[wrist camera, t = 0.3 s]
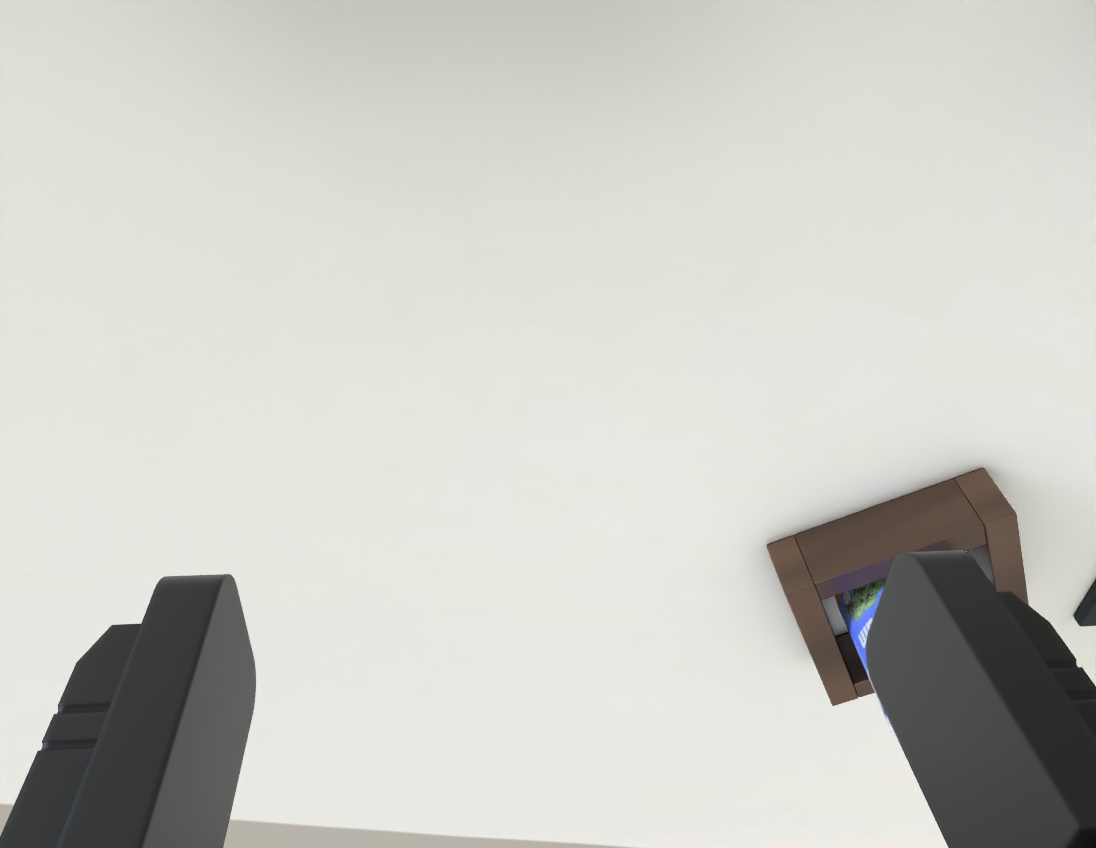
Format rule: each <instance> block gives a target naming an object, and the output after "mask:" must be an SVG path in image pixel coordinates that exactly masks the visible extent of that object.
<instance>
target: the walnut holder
mask: <svg viewBox="0 0 1096 848" xmlns="http://www.w3.org/2000/svg"><path fill="white" fill-rule="evenodd" d="M767 549H768V551H769V554H770V557H771V559H772V562H773V564H774V567H775V570H776V572H777V575H778V577H779V580H780V583H781V585H782V588H783V590H784V593H785V595H786V598H787V600H788V603H789V605H790V607H791V610H792V612H793V614H794V617H795V619H796V621H797V624H798V626H799V628H800V631H801V633H802V635H803V638H804V640H805V642H806V645H807V647H808V650H809V652H810V654H811V657H812V659H813V661H814V664H815V666H816V668H817V671H818V673H819V675H820V678H821V680H822V682H823V685H824V687H825V690H826V692H827V694H828V697H829V699H830V701H831V704H832V705H833V706H835V705H838V704H841V703H844V702H847V701H851V700H854V699H857V698H858V697H862V696H865V695H869V694H872V693H875V691H874V689H873V687H872V685H871V682H870V680H869V677H868V675H867V673H866V670H865V668H864V666H863V663H862V661H861V659H860V656H859V654H858V652H857V649H856V647H855V645H854V642H853V640H852V638H851V635H850V633H848V634H845V635H842V636H839V637H836V638H835V636H834V633H833V631H832V628H831V626H830V623H829V620H828V618H827V615H826V613H825V610H824V607H823V605H822V602H821V600H822V599H825V598H828V597H831V596H834V595H837V594H840V593H843V592H846V591H849V590H852V589H855V588H858V587H861V586H864V585H866V584H869V583H872V582H875V581H878V580H881V579H884V578H887V577H888V575H889V572H890V569H891V566H892V564H893V561H894V560H895V558H896V557H897V556H898V555H899V554H900V553H903V552H928V551H956V550H962V551H967V550H968V552H969V554H970V555H971V556H972V557H973V558H974V559H975V560H976V562H977V563H978V565H979V566H980V568H981V569H982V570H983V572H984V573H985V575H986V576H987V578H988V579H989V581H990V582H991V584H992V585H993V587H994V588H995V590H996V591H997V592H1005V591H1011V592H1012V593H1014V594H1015V595H1016V596H1017V597H1019V598H1020V599H1021V600H1022V601H1024V602H1025V603H1026V604H1027V605H1028V606H1029V604H1028V597H1027V590H1026V582H1025V575H1024V567H1023V560H1022V553H1021V545H1020V538H1019V530H1018V523H1017V516H1016V512H1015V511H1014V510H1013V508H1012V507H1011V505H1010V504H1009V503H1008V501H1007V500H1006V498H1005V497H1004V496H1003V494H1002V493H1001V491H1000V490H999V488H998V487H997V486H996V484H995V483H994V481H993V480H992V479H991V477H990V476H989V474H988V473H987V472H986V470H985V469H984V468H982V469H979V470H977V471H974V472H971V473H968V474H965V475H963V476H960V477H957V478H955V479H951V480H949V481H946V482H943V483H940V484H937V485H935V486H932V487H929V488H926V489H923V490H920V491H918V492H915V493H912V494H909V495H906V496H904V497H901V498H898V499H895V500H892V501H890V502H887V503H884V504H881V505H878V506H876V507H873V508H870V509H867V510H864V511H861V512H859V513H856V514H853V515H850V516H847V517H845V518H842V519H839V520H836V521H833V522H831V523H828V524H825V525H822V526H819V527H817V528H814V529H811V530H808V531H805V532H802V533H800V534H797V535H795V537H794V536H791V537H788V538H786V539H783V540H780V541H777V542H774V543H771V544H769V545H767ZM820 599H821V600H820Z"/></svg>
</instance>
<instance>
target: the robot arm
mask: <svg viewBox="0 0 1096 848" xmlns="http://www.w3.org/2000/svg"><path fill="white" fill-rule="evenodd" d="M866 662H867V668H868V672H869V676H870V679H871V682H872V685H873V687H874V689H875V691H876V694H877V696H878V698H879V700H880V702H881V704H882V706H883V709H884V711H885V713H886V715H887V717H888V719H889V721H890V724H891V726H892V728H893V730H894V732H895V734H896V736H897V739H898V741H899V743H900V745H901V747H902V749H903V751H904V753H905V756H906V758H907V760H908V762H909V764H910V766H911V768H912V771H913V773H914V775H915V777H916V779H917V781H918V783H919V786H920V788H921V790H922V792H923V794H924V796H925V798H926V801H927V803H928V805H929V807H930V809H931V811H932V813H933V815H934V818H935V820H936V822H937V824H938V826H939V828H940V830H941V833H942V835H943V837H944V839H945V841H946V843H947V845H948V848H1096V686H1095V685H1094V683H1093V682H1092V681H1091V679H1090V678H1089V677H1088V675H1087V674H1086V672H1085V671H1084V670H1083V668H1082V667H1079V668H1078V667H1077V665H1076V658H1075V657H1074V656H1073V654H1072V653H1071V651H1070V650H1069V649H1068V647H1067V646H1066V644H1065V643H1064V642H1063V640H1062V639H1061V637H1060V636H1059V635H1058V633H1057V632H1056V631H1055V629H1054V628H1053V626H1052V625H1051V624H1050V622H1048V621H1047V620H1046V619H1045V618H1043V617H1042V616H1041V615H1040V614H1038V613H1037V612H1036V611H1035V610H1033V609H1032V608H1031V607H1030V606H1028V605H1027V604H1026V603H1025V602H1024V601H1022V600H1021V599H1020V598H1019V597H1017V596H1016V595H1015V594H1014V593H1012V592H1011V591H1005V592H997V591H996V590H995V588H994V587H993V585H992V584H991V582H990V581H989V579H988V578H987V576H986V575H985V573H984V572H983V570H982V569H981V568H980V566H979V565H978V563H977V562H976V560H975V559H974V558H973V557H972V556H971V555H970V554H969V553H967V552H965V551H962V550H956V551H928V552H903V553H900V554H899V555H898V556H897V557H896V558H895V560H894V561H893V564H892V566H891V569H890V572H889V575H888V578H887V580H886V583H885V586H884V589H883V592H882V594H881V597H880V600H879V603H878V606H877V609H876V611H875V614H874V617H873V620H872V623H871V625H870V628H869V631H868V635H867V640H866ZM255 692H256V671H255V661H254V656H253V652H252V648H251V644H250V640H249V635H248V631H247V627H246V623H245V619H244V615H243V610H242V606H241V602H240V598H239V594H238V590H237V586H236V582H235V580H234V578H233V577H232V575H230V574H224V575H196V576H168V577H163V578H161V579H160V581H159V582H158V584H157V585H156V587H155V590H154V592H153V595H152V597H151V600H150V603H149V605H148V608H147V611H146V613H145V616H144V618H143V621H142V624H125V625H112V626H111V627H110V628H109V629H108V630H107V631H106V632H105V633H104V634H103V635H102V636H101V637H100V638H99V639H98V641H97V642H96V643H95V644H94V645H93V646H92V647H91V648H90V649H89V650H88V651H87V652H86V653H85V654H84V655H83V656H82V658H81V659H80V660H79V661H78V662H77V663H76V665H75V668H74V670H73V672H72V674H71V677H70V679H69V681H68V684H67V686H66V688H65V690H64V693H63V695H62V697H61V700H60V702H59V704H58V713H57V714H54V715H53V718H52V720H51V722H50V725H49V727H48V729H47V731H46V734H45V736H44V738H43V741H42V743H43V746H42V750H41V751H38V752H37V754H36V756H35V759H34V761H33V763H32V766H31V768H30V770H29V772H28V775H27V777H26V779H25V782H24V784H23V786H22V788H21V791H20V793H19V795H18V797H17V800H16V802H15V804H14V807H13V809H12V811H11V814H10V816H9V818H8V820H7V823H6V825H5V827H4V829H3V832H2V834H1V836H0V848H223V845H224V841H225V837H226V832H227V828H228V823H229V819H230V814H231V810H232V805H233V801H234V796H235V792H236V787H237V783H238V778H239V774H240V769H241V765H242V760H243V756H244V751H245V747H246V742H247V738H248V733H249V729H250V724H251V720H252V715H253V710H254V703H255Z"/></svg>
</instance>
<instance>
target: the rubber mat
mask: <svg viewBox="0 0 1096 848" xmlns="http://www.w3.org/2000/svg"><path fill="white" fill-rule="evenodd" d="M1074 618H1075V620H1076V621H1077V623H1078V624H1079V626H1095V625H1096V581H1095V583H1094V585H1093V586H1092V588H1091V589H1090V591H1089V593H1088V594H1087V596H1086V598H1085V599H1084V601H1083V603H1082V604H1081V606H1080V607H1079V609H1078V611H1077V612H1076V614H1075V616H1074Z"/></svg>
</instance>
